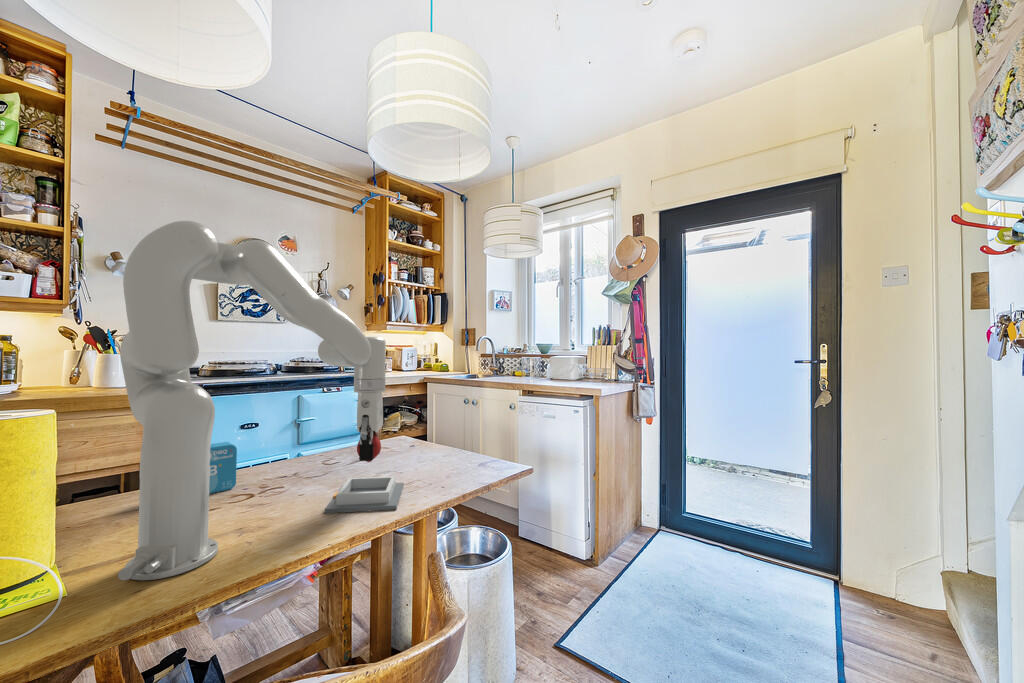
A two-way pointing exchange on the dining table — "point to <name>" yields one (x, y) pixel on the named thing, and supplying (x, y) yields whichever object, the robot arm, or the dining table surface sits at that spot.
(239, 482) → the dining table surface
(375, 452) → the onion
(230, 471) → the data package
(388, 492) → the tray
